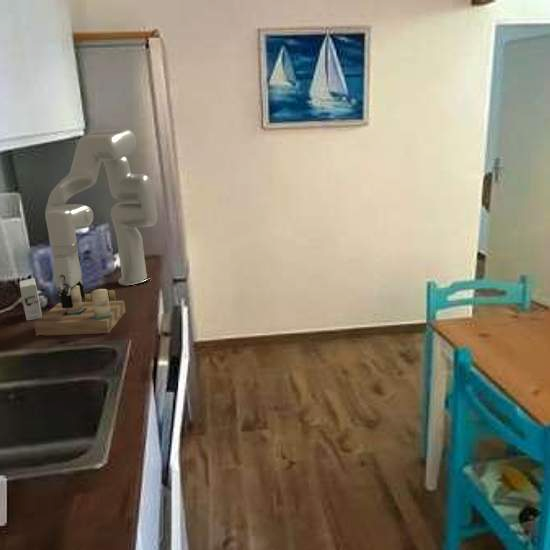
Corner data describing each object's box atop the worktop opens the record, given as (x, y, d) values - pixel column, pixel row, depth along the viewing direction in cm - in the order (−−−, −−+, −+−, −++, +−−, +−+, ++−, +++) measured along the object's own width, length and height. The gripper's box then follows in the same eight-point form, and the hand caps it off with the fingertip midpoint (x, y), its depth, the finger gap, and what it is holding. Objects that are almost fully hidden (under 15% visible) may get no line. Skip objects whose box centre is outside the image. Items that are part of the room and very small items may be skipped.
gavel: (83, 283, 197) (110, 279, 200) (85, 295, 198) (112, 291, 201) (84, 295, 177) (114, 291, 181) (86, 308, 178) (116, 303, 182)
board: (60, 314, 173) (54, 280, 170) (125, 311, 173) (120, 277, 169) (36, 335, 156) (29, 298, 152) (108, 333, 156) (103, 295, 152)
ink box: (25, 313, 176) (18, 280, 172) (40, 310, 178) (34, 277, 175) (26, 321, 169) (19, 286, 165) (42, 318, 171) (36, 284, 167)
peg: (72, 320, 167) (66, 285, 163) (87, 320, 167) (81, 284, 163) (66, 326, 162) (60, 290, 159) (82, 325, 162) (76, 289, 159)
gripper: (63, 243, 166) (72, 293, 171) (40, 257, 149) (50, 312, 154) (87, 242, 166) (94, 292, 171) (66, 256, 149) (75, 311, 154)
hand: (73, 302), depth 163 cm, fingers open, 9 cm apart
